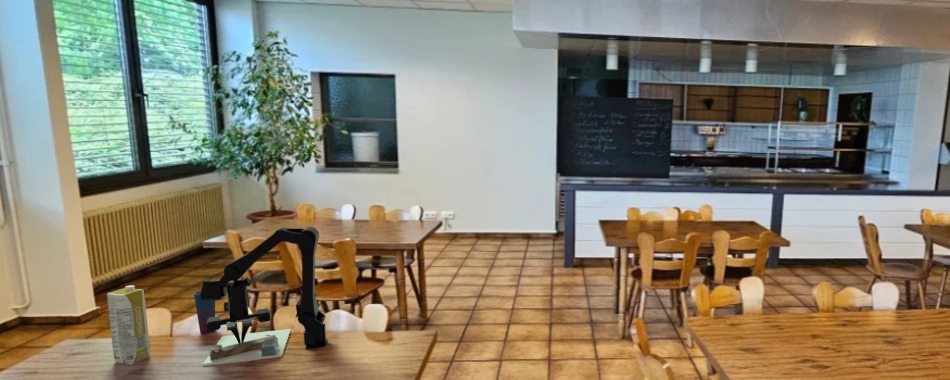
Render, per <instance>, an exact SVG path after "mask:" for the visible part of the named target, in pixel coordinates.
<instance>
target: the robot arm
mask: <svg viewBox="0 0 950 380" xmlns="http://www.w3.org/2000/svg"><path fill="white" fill-rule="evenodd" d="M319 239H320V233H319V231H318V229H316V228H315V227H313V226H307V227H305V228H301V227H300V228H299V227H297V228H296V227H294V228H292V227H291V228H289V227H280V228H278V229H276V231H275V232H274V233H273V234H271V235H270V236H269V237H268V238H266V239H265V240H264V241H262V242H261V243H260V244H258V245H257V246H256V247H255V248H253V249H252V250H251V251H250V252H248V253H246V254H244V255H242V256H239V257H237V258H236V259H233V260H232V261H231V262H230V263H228V264H227V265H225V267H224V269H223V275H222V276H221V278H220V279H217V278H216V279H210V278H208V279H204V280H202V285H201V288H200V290H201V293H200V296H201V299H202V301H214V300H215V301H222V300H223V299H224V298H226V297H227V301H225V302H223V312H224V313H227V312H228V317H227V318H226V317H225V318H221V315H217V316H216V315H215V317H210V318H208V319H207V331H214V332H216V331H219V330H220V329H221V327H222V326H224V325H225V326H226V331H230V332H231V333H232V334H233V335H235V337H236V339H237V341H238V343H243V342H244V339H245V336H246V334H248V331H249V329H250V328H251V327H253V325H254V324H253V320H257V321H258V322H259V323H265V322H270V321H271V320H272V319H271V317H272V316H271V312H270V308H267V307H265V308H261V309H256V313H249V303H248V289H247V288H248V287H250V286H252V284H253V283H254V281H253V279H250V278H249V277H248V276H246V277H245V278H244V279H240V278H242V277H243V276H245V274H247V272H249V270H250V269H251V268H252V267H253V266H254V264H255V263H257V262H258V261H259V260H260V259H261V258H262V257H264V256H265V255H266V254H268V253H269V252H271V251H272V250H273V249H274V248H276V247H277V245H279V244H281V242H282V243H283V242H285V243H289V244H295V245H298V248H299V249H298V250H299V253H300V254H301V299H299V300H298V301H297V303H296V304H295V311H296V315H295V318H297V321H298V323H299V324H301V326H303V328H304V332H303V340H304V342H303V343H304V345H305V349H313V348H314V349H315V348H322V347H326V346H327V343H328V337H327V330H326V323H324V322H325V320H326V315H325V313H323V312H322V311H320V310H319V304H318V300H317V297H316V295H315V293H316V292H315V291H316V289H315V287H316V286H315V285H316V283H315V282H316V274H315V273H316V252H317V248H318V247H317V246H318V243H319ZM231 281H233V282H231ZM238 323H241V341H240V336H239V335H240V332H239V329H238V328H239V327H238Z"/></svg>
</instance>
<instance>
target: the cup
mask: <svg viewBox="0 0 950 380" xmlns="http://www.w3.org/2000/svg"><path fill="white" fill-rule="evenodd" d="M200 293H201V289H200V290H197V291H195V292H193V298H194V303H195V309H196V310H195V311H196V315H197V317H196V318H197V322H198V328H199V333H200V334H201V335H207V334H211V333H214V332H215V331H207V319H208V318H210V317H216V300H214V301H202V299H201V296H200Z"/></svg>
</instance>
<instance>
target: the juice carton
mask: <svg viewBox="0 0 950 380" xmlns="http://www.w3.org/2000/svg"><path fill="white" fill-rule="evenodd" d="M135 287H136V285H127V286H125V287H123V288H120V289H117V290H113V291H111V292H108V293H107V310H108V318H109V319H108V320H109V325H110V326H109V327H110V334H111V335H110V336H111V345H112V352H113V360H114V362H115V363H118V364H119V363H120V364H124V365H129V366H133V365H135V364H137V363H139V362H141V361H145V360H146V359H149V358H150V357H151V348H150V347H151V345H150V336H149V326H148V317H147V308H146V297H145V291H144V289H140V288H139V289H136V288H135Z"/></svg>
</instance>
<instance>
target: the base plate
mask: <svg viewBox="0 0 950 380" xmlns="http://www.w3.org/2000/svg"><path fill="white" fill-rule="evenodd" d="M291 332H292V328H287V329H278V330H268V331H260V332H250V333H246V336H245V339H244V342H247V341H251V340H255V339H260V338H264V337H268V336H266V335H271V336H272V335H275V336H276V337H277V338H278V344H276V355H272V356H264V357H262V352H261V348H258V349H254V350H250V351H246V352H242V353H238V354H233V355H229V356H225V357H221V358H217V359H213V360H211V358H210V354H208V356H207V357H206V359H205V360H204V361H203V364H202V366H203V367H209V366H217V365H224V364H232V363H234V364H235V363H243V362H249V361H251V362H252V361H258V360H266V359H267V360H268V359H274V358H282V357H283V355H284V352H285V350H284V349H286V347H287V344H288V341H289V338H290V336H289V334H290V335H291ZM239 336H240V341H241V334H240V333H239ZM288 337H289V338H288ZM287 340H288V341H287ZM286 343H287V344H286ZM234 344H238V341H237V339H236V337H235V335H234V334H233V335H232V334H231V335H223V336H221V337H220V339H219V340H218V342H216V344H215V345H212V346H210V350H213V351H214V353H215V352H219V349H221V348H222V347H225V346H230V345H234ZM285 346H286V347H285Z"/></svg>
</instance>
